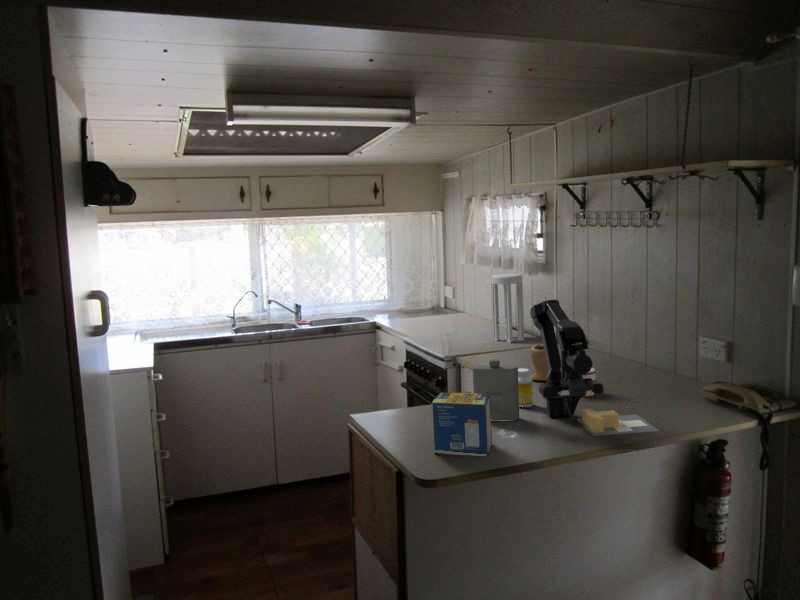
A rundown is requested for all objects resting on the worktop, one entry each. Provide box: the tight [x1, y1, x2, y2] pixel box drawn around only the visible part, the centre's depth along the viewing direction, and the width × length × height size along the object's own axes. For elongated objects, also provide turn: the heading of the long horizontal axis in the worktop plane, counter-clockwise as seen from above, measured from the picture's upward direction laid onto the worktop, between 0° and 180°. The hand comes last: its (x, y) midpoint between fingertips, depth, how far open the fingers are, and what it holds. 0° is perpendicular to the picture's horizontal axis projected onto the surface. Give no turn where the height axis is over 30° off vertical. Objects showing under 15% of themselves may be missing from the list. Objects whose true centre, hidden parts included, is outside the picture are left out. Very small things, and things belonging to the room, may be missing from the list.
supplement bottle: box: [518, 368, 534, 409], centre depth 221 cm, size 7×7×13 cm
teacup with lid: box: [582, 367, 596, 397], centre depth 231 cm, size 12×9×12 cm
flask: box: [471, 358, 520, 421], centre depth 209 cm, size 15×6×20 cm, turn 74°
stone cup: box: [529, 343, 548, 382], centre depth 252 cm, size 15×12×15 cm
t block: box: [581, 408, 620, 433], centre depth 196 cm, size 9×11×4 cm
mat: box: [576, 414, 660, 437], centre depth 197 cm, size 20×16×1 cm
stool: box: [490, 273, 525, 344], centre depth 334 cm, size 16×16×35 cm
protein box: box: [431, 392, 493, 454], centre depth 183 cm, size 10×15×16 cm
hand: (571, 415), depth 195 cm, fingers closed
